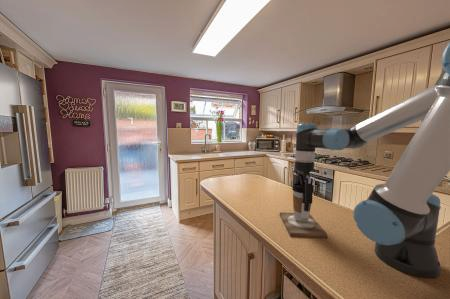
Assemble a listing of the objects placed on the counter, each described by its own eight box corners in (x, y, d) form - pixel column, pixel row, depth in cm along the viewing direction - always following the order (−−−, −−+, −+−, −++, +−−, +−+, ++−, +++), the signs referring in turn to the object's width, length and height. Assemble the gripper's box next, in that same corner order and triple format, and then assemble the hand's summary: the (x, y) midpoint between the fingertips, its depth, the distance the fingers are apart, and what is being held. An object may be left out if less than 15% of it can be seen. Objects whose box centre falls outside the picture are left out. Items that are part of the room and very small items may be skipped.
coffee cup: (314, 224, 77) (316, 187, 75) (292, 221, 79) (294, 186, 77) (309, 215, 85) (311, 182, 84) (289, 213, 87) (291, 180, 85)
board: (327, 237, 73) (327, 233, 73) (289, 236, 74) (290, 231, 74) (309, 216, 91) (309, 212, 91) (279, 215, 92) (279, 211, 91)
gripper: (325, 165, 69) (320, 225, 71) (305, 157, 89) (302, 204, 92) (304, 165, 69) (300, 224, 72) (288, 157, 90) (286, 203, 92)
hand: (301, 213), depth 82 cm, fingers closed on coffee cup, 8 cm apart
